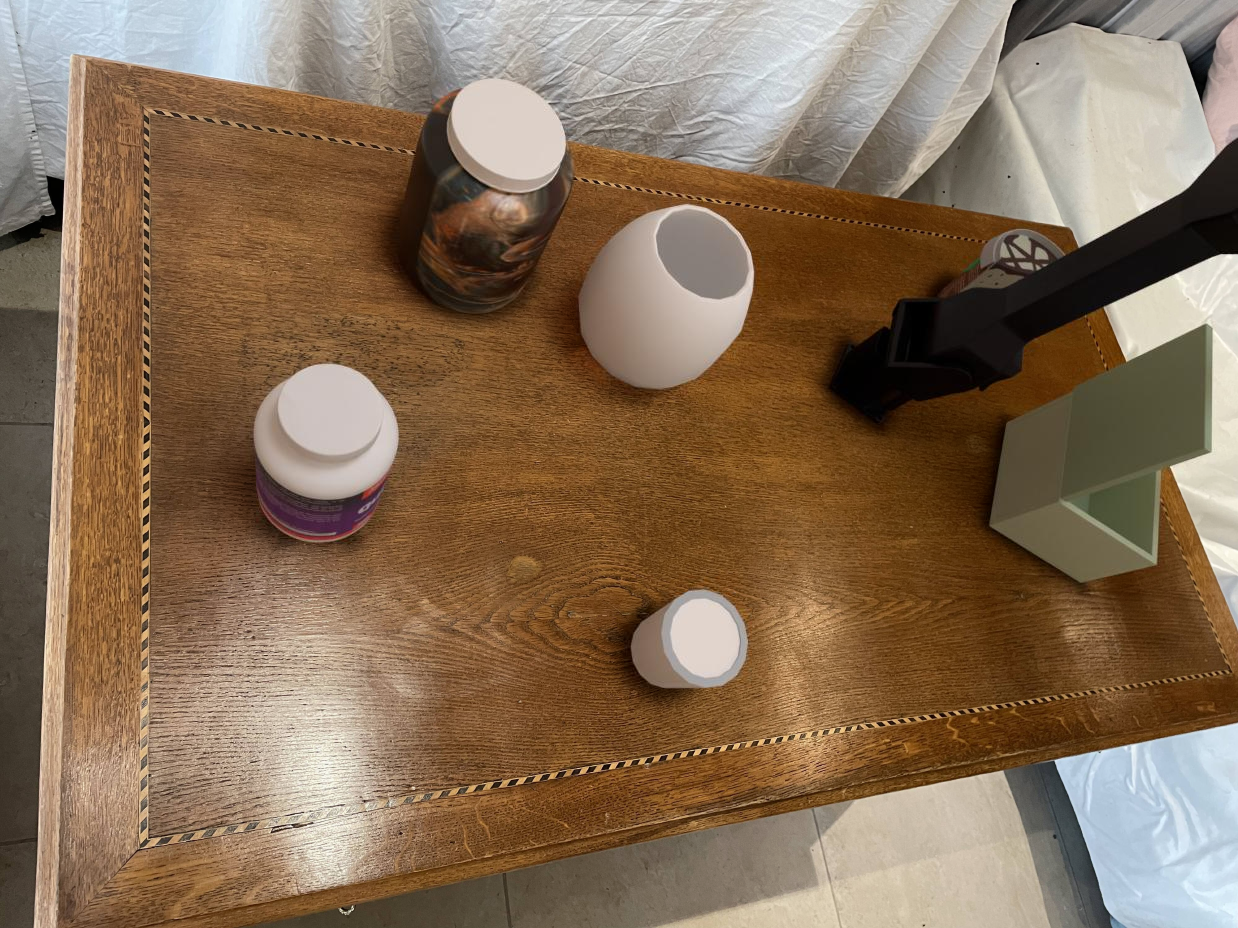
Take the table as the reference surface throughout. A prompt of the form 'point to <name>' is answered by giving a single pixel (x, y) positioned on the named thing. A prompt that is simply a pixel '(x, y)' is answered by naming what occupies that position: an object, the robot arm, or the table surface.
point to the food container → (1006, 261)
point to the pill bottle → (323, 452)
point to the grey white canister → (691, 642)
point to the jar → (483, 195)
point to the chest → (1070, 503)
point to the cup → (666, 296)
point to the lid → (1141, 416)
